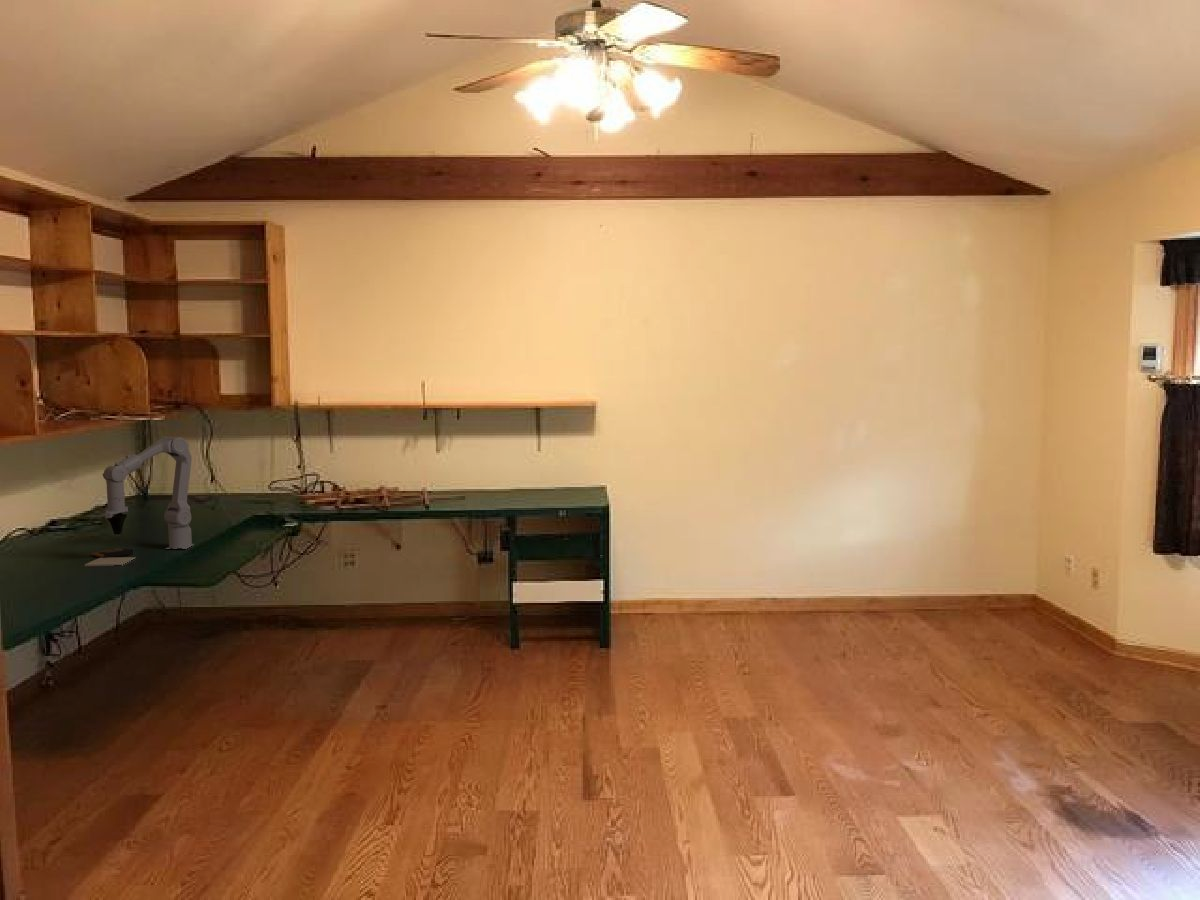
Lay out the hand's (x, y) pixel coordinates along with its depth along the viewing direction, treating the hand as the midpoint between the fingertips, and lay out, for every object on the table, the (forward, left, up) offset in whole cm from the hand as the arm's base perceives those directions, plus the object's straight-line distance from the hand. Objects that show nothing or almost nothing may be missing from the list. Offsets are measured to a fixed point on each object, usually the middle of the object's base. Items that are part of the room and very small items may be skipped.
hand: (117, 534), depth 356 cm
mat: (+7, 0, -9) cm, 11 cm away
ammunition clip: (-2, -1, -8) cm, 8 cm away
